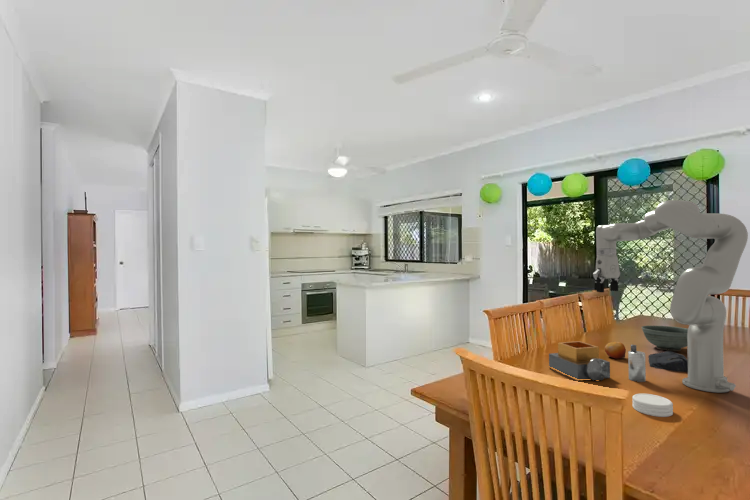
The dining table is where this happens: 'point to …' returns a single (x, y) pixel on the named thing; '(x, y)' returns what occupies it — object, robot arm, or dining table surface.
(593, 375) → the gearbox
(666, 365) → the dark slate chunk
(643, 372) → the spout can
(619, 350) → the fruit
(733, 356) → the dining table surface
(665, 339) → the bowl
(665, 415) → the coaster
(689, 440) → the dining table surface
